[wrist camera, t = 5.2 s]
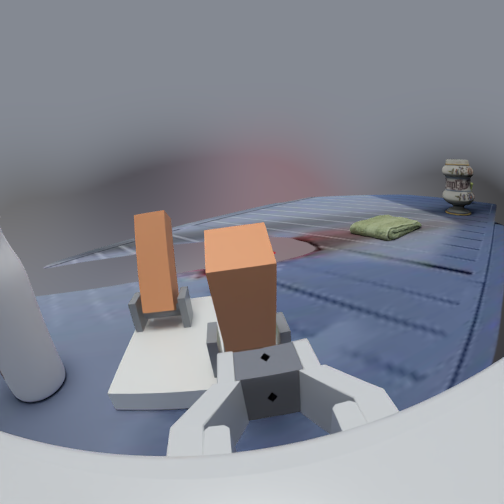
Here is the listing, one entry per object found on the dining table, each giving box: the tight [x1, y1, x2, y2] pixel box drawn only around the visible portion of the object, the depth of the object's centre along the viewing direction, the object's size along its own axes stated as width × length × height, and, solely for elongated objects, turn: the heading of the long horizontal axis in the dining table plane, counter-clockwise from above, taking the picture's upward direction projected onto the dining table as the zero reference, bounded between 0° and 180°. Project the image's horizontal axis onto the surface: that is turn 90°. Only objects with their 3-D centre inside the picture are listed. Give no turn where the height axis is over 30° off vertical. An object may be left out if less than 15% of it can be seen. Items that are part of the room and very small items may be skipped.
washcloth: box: [350, 215, 422, 241], centre depth 67 cm, size 13×18×3 cm
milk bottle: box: [0, 217, 65, 402], centre depth 20 cm, size 8×8×20 cm
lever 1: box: [134, 210, 181, 319], centre depth 32 cm, size 4×4×12 cm
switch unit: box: [108, 286, 291, 410], centre depth 29 cm, size 16×18×6 cm
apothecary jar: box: [442, 159, 474, 215], centre depth 77 cm, size 12×12×18 cm
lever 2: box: [204, 223, 276, 352], centre depth 20 cm, size 4×4×12 cm
